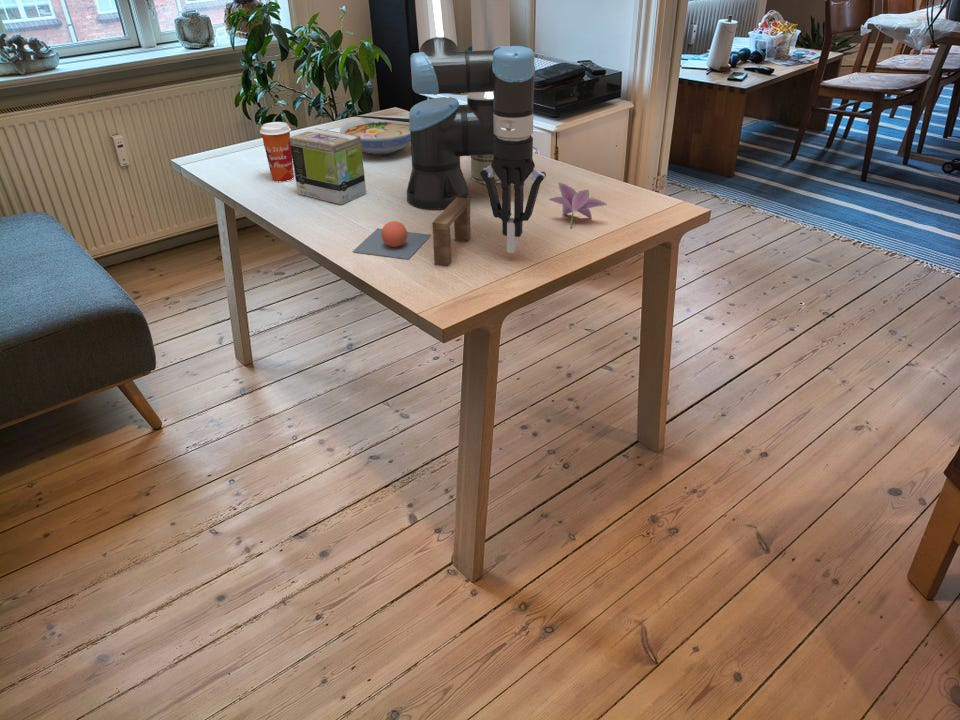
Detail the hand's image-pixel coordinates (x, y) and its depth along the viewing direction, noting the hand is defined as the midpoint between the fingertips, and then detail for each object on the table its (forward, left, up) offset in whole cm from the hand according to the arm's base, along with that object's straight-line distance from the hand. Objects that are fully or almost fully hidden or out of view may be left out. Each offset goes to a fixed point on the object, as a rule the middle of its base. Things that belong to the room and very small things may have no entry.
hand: (512, 249), depth 155 cm
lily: (-23, +9, -2) cm, 24 cm away
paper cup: (-31, -72, -2) cm, 78 cm away
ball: (+1, -26, +1) cm, 26 cm away
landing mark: (0, -27, -2) cm, 27 cm away
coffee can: (-46, -19, -2) cm, 50 cm away
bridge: (0, -13, -2) cm, 13 cm away
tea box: (-24, -54, -2) cm, 59 cm away
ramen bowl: (-59, -56, -2) cm, 81 cm away
